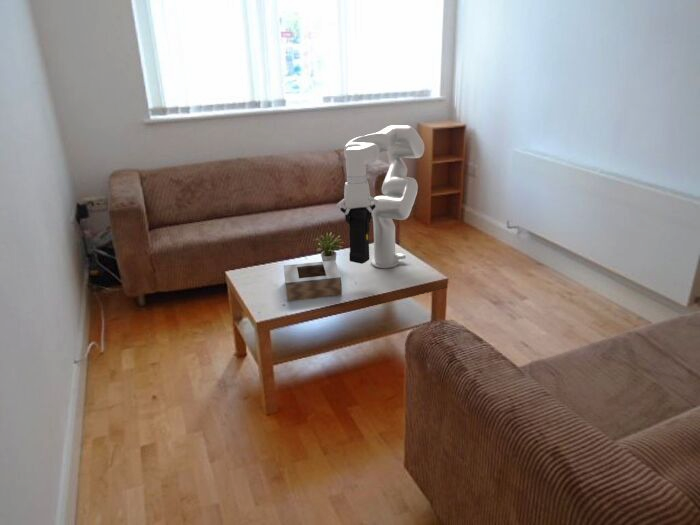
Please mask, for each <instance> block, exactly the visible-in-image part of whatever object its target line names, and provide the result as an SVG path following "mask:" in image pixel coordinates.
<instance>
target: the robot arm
mask: <svg viewBox="0 0 700 525" xmlns="http://www.w3.org/2000/svg"><path fill="white" fill-rule="evenodd" d="M386 152H387V158H388V168H387V172H386V175H385V178H384V180H383V182H382V186H381V193H382V195H377V196H375V197H373V196H371V192H370V184H369V181H368V180H369V179H370V178H371V176H370V174H367V168H366V167H367V165H366V164H372V163H374V162H376V161H378V159H379V158H380V155H381V153H386ZM424 153H425V143H424V141H423V139H422V137H421V136H420V134H419V133H418V131H417V130H416V129H415V128H414V127H413V126H411V125H401V124H399V125H397V124H396V125H395V124H392V125H391V124H390V125H388V126H386V127H384V128H382V129H381V130H379V131H377V132H373V133H370V134H366V135H362V136H358V137H355V138H353V139H351V140H349V141H348V142H347V143H346V144H345V146H344V149H343V155H344V156H343V157H344V158H345V170H346V182H344V187H343V189H344V190H343V195H344V196H343V198H342V199H341V200H340V201H339V202H337V204H336V207H337V208H338V209H339V210H340V211H341V212H342V213H343V214H344V219H345V220H344V221H345V222H346V223H347V225H350V220H349V211H350V209H354V208H367V209H368V210H369V211H368V218H369V223H370V222H371V220H372V222H373V254H374V255H373V256H374V257H373V258H372V259H371V260H370V264H371V265H372V267H374V268H378V269H392V268H395V267H396V266H398V265H399V263H400V262H399V260H405V259H406V258H407V257H406V254H402V252H401V253H397V252H396V225H395V222H394V221H393V220H397V221H398V220H400V221H401V220H402V221H404V220H406V219H408V218H409V216H410V214H411V211H412V208H413V206H414V204H415V200H416V197H417V194H418V188H419V185H418V182H417V180H416V179H415V178H414V177H409V176H407V174H408V167H407V165H406V163H405V161H404V160H403V158H406V159H420V158H421V157H423V155H424ZM343 205H344V206H345V208H344V207H343Z"/></svg>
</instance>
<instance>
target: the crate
mask: <svg viewBox="0 0 700 525" xmlns="http://www.w3.org/2000/svg"><path fill="white" fill-rule="evenodd" d="M283 274H284V284H285V291H286V293H285V294H286V300H287V302H292V301H302V300H312V299H321V298H330V297H339V296H343V288H342V287H343V286H342V276H341V273H340V270H339V268H338V265H337V262H335V260H334V261H324V262H323V261H315V262H304V263H298V264H297V263H295V264H286V265H283Z"/></svg>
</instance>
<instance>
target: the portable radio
mask: <svg viewBox="0 0 700 525" xmlns="http://www.w3.org/2000/svg"><path fill="white" fill-rule="evenodd" d="M368 211H369V210H368V209H367V208H366V207H364V208H354V209H350V211H349V213H348V214H349V220H350V224H349V254H348V255H349V262H353V263H356V264H360V265H362V264H365V263H367V262H368V261H369V260H370V233H369V232H370V222H369V218H368Z"/></svg>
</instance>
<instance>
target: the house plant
mask: <svg viewBox="0 0 700 525" xmlns="http://www.w3.org/2000/svg"><path fill="white" fill-rule="evenodd" d="M335 235H336V233H334V234H333V235H332V231H331V232H330V233H329V234H328V232H326V239H325V236H323V235H322V234H320V236H318V237H316V238H315V239H314V240H316V241H318V244H317V245H319V246H320V247H318V248H317V249H316V251H317V252H320V251H322V252H321V253H320V256H321V262H324V261H334V260H335V262H336V260H337V251H335V250H342V248H343V246H342V245H341V244H344V243H346V242H343V241H342V239H339V238H340V237H341V236H342V235H338V236H336V238H334V237H335ZM319 237H320V238H321V239H322V240H321V239H320V238H319ZM333 238H334V239H333ZM332 239H333V241H332ZM340 240H341V241H340ZM338 244H339V245H338ZM321 247H322V248H323V249H322V248H321ZM336 263H337V262H336Z"/></svg>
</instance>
